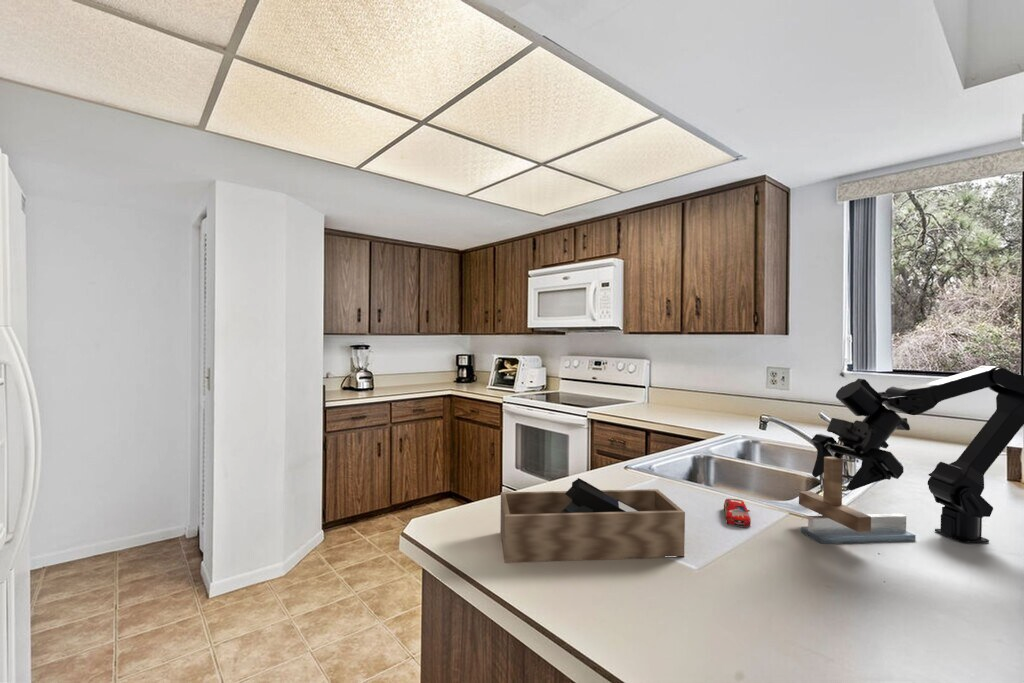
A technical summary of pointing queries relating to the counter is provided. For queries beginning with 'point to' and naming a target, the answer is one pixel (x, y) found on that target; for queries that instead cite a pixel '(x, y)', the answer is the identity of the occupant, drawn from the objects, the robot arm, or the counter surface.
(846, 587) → the counter surface
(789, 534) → the counter surface
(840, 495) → the wooden t-shaped stand
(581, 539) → the box
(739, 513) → the race car
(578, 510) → the toy gun
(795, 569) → the counter surface
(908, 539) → the ridge stand
